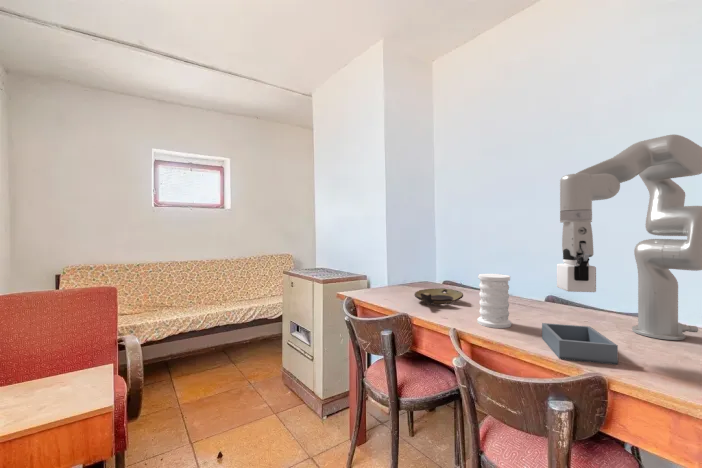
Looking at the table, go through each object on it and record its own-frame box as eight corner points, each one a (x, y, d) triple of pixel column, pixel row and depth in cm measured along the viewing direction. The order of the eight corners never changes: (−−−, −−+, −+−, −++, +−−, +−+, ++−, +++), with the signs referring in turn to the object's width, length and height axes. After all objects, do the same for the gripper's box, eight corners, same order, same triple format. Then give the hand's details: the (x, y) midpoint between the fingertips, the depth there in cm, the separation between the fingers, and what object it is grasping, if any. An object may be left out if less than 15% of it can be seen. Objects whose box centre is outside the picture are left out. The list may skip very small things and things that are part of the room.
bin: (589, 342, 97) (589, 326, 97) (617, 364, 81) (617, 345, 81) (542, 338, 101) (542, 322, 101) (559, 358, 85) (559, 340, 85)
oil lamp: (474, 304, 150) (474, 288, 150) (428, 312, 134) (428, 294, 134) (438, 296, 169) (438, 281, 169) (394, 303, 153) (394, 287, 153)
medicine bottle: (596, 292, 87) (596, 249, 87) (567, 291, 88) (567, 248, 88) (583, 287, 94) (583, 247, 94) (556, 287, 95) (556, 247, 95)
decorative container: (473, 319, 124) (473, 273, 124) (504, 319, 123) (504, 273, 123) (482, 327, 113) (482, 277, 113) (516, 328, 112) (516, 277, 111)
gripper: (605, 215, 82) (605, 283, 82) (579, 218, 98) (579, 274, 98) (571, 216, 84) (571, 282, 84) (551, 218, 100) (551, 274, 101)
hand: (575, 278), depth 91 cm, fingers closed on medicine bottle, 7 cm apart
